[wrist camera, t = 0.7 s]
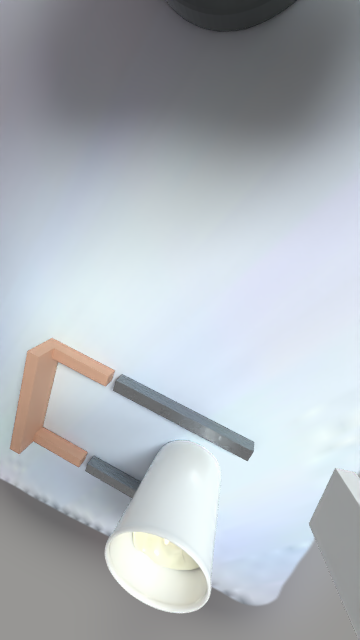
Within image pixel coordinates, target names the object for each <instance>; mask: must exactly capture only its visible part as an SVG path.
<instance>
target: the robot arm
mask: <svg viewBox="0 0 360 640" xmlns="http://www.w3.org/2000/svg"><path fill="white" fill-rule="evenodd" d="M166 1H167V3H168V4H169V5H170V6H171V7H172V8H173V9H174V10H175V11H176V12H177V13H178V14H179V15H180V16H182V17H183V18H184V19H186V20H187V21H189V22H191V23H193V24H195V25H197V26H199V27H202V28H205V29H209V30H215V31H234V30H240V29H245V28H249V27H252V26H255V25H257V24H260V23H262V22H264V21H266V20H268V19H270V18H272V17H274V16H275V15H277V14H279V13H280V12H281V11H283V10H284V9H286V8H287V7H288V6H290V5H291V4H292V3H294V2H295V1H296V0H166ZM309 526H310V528H311V530H312V533H313V535H314V537H315V540H316V542H317V544H318V547H319V549H320V551H321V554H322V556H323V558H324V561H325V563H326V565H327V568H328V570H329V573H330V575H331V577H332V580H333V582H334V584H335V587H336V589H337V591H338V594H339V596H340V598H341V600H342V603H343V605H344V607H345V610H346V612H347V615H348V617H349V619H350V622H351V624H352V627H353V629H354V631H355V633H356V636H357V638H358V640H360V478H359V477H358V476H357V474H356V473H355V472H352V471H347V470H343V469H338V468H335V470H334V472H333V474H332V476H331V478H330V480H329V482H328V484H327V486H326V489H325V491H324V493H323V495H322V497H321V499H320V501H319V503H318V505H317V507H316V510H315V512H314V514H313V516H312V518H311V520H310V522H309Z"/></svg>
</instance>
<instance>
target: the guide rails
mask: <svg viewBox="0 0 360 640" xmlns="http://www.w3.org/2000/svg"><path fill="white" fill-rule="evenodd" d="M113 391H115V392H117V393H119V394H121V395H123V396H125V397H126V398H128V399H130V400H132V401H134V402H136V403H138V404H140V405H142V406H144V407H145V408H147V409H149V410H151V411H153V412H155V413H157V414H159V415H161V416H163V417H165V418H166V419H168V420H170V421H172V422H174V423H176V424H178V425H180V426H182V427H184V428H185V429H187V430H189V431H191V432H193V433H195V434H197V435H199V436H201V437H203V438H205V439H206V440H208V441H210V442H212V443H214V444H216V445H218V446H220V447H222V448H224V449H225V450H227V451H229V452H231V453H233V454H235V455H237V456H239V457H241V458H243V459H244V460H246V461H248V460H249V458H250V457H251V455H252V454H253V452H254V442H253V441H251V440H249V439H247V438H245V437H243V436H241V435H239V434H237V433H235V432H233V431H231V430H230V429H228V428H226V427H224V426H222V425H220V424H218V423H216V422H214V421H212V420H210V419H208V418H206V417H204V416H202V415H200V414H198V413H197V412H195V411H193V410H191V409H189V408H187V407H185V406H183V405H181V404H179V403H177V402H175V401H173V400H171V399H169V398H167V397H165V396H163V395H162V394H160V393H158V392H156V391H154V390H152V389H150V388H148V387H146V386H144V385H142V384H140V383H138V382H136V381H134V380H132V379H130V378H129V377H127V376H125V375H123V374H122V375H121V376H120V377H119V378H118V379H117V380H116V383H115V386H114V389H113ZM85 471H86V472H88V473H89V474H91V475H93V476H95V477H96V478H98V479H100V480H102V481H103V482H105V483H107V484H109V485H110V486H112V487H114V488H116V489H117V490H119V491H121V492H123V493H124V494H126V495H128V496H130V497H131V498H133V496H134V494H135V492H136V490H137V489H138V487H139V485H140V483H141V482H140V481H138V480H136V479H134V478H133V477H131V476H129V475H127V474H126V473H124V472H122V471H120V470H118V469H117V468H115V467H113V466H111V465H110V464H108V463H106V462H104V461H102V460H101V459H99V458H97V457H95V456H93V457H92V459H91V460H90V461H89V463H88V464H87V467H86V470H85Z"/></svg>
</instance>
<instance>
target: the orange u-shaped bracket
mask: <svg viewBox="0 0 360 640" xmlns="http://www.w3.org/2000/svg"><path fill="white" fill-rule="evenodd" d="M58 362H60V363H62V364H64V365H66V366H67V367H69V368H71V369H73V370H75V371H77V372H79V373H81V374H83V375H85V376H86V377H88V378H90V379H92V380H94V381H96V382H98V383H100V384H102V385H104V386H106V385H107V384H108V383H109V382H110V381H111V380H112V378H113V375H114V372H115V370H113V369H111V368H109V367H107V366H105V365H103V364H101V363H99V362H97V361H95V360H94V359H92V358H90V357H88V356H86V355H84V354H82V353H80V352H78V351H76V350H74V349H72V348H70V347H68V346H66V345H64V344H62V343H61V342H59V341H57V340H55V339H53V338H51V339H49V340H48V341H46V342H44V343H42V344H40V345H38V346H36V347H34V348H32V349H30V350H29V351H27V357H26V362H25V368H24V374H23V379H22V385H21V390H20V396H19V401H18V407H17V413H16V418H15V424H14V429H13V435H12V440H11V446H10V449H11V450H13V451H15V452H16V453H18V454H20V453H21V452H22V451H23V450H25V449H26V448H27V447H28V446H29V445H30V444H31V443H32V442H33V441H34V442H35V443H37V444H39V445H41V446H42V447H44V448H46V449H48V450H49V451H51V452H53V453H55V454H56V455H58V456H60V457H62V458H63V459H65V460H67V461H69V462H70V463H72V464H74V465H76V466H77V467H80V465H81V464H82V463H83V462H84V460H85V458H86V455H87V451H85V450H83V449H81V448H79V447H78V446H76V445H74V444H72V443H71V442H69V441H67V440H65V439H63V438H62V437H60V436H58V435H56V434H55V433H53V432H51V431H49V430H47V429H46V428H44V427H43V423H44V419H45V415H46V411H47V406H48V402H49V398H50V393H51V389H52V385H53V381H54V376H55V372H56V368H57V364H58Z"/></svg>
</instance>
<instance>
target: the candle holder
mask: <svg viewBox="0 0 360 640" xmlns="http://www.w3.org/2000/svg"><path fill="white" fill-rule="evenodd" d="M220 484H221V470H220V466H219V464H218V462H217V460H216V458H215V457H214V456H213V455H212V454H211V453H210V452H209V451H208V450H207V449H206V448H204V447H203V446H201V445H199V444H197V443H194V442H191V441H186V440H176V441H172V442H169V443H167V444H166V445H164V446H163V447H162V448H161V449H160V450H159V452H158V454H157V455H156V457H155V459H154V460H153V462H152V464H151V466H150V467H149V469H148V471H147V473H146V474H145V476H144V478H143V480H142V482H141V483H140V485H139V487H138V489H137V490H136V492H135V494H134V496H133V498H132V499H131V501H130V503H129V505H128V507H127V508H126V510H125V512H124V514H123V515H122V517H121V519H120V521H119V523H118V524H117V526H116V528H115V530H114V531H113V533H112V534H111V536H110V537H109V539H108V541H107V543H106V546H105V560H106V563H107V566H108V568H109V570H110V572H111V574H112V575H113V577H114V578H115V579H116V581H117V582H118V583H119V584H120V585H121V586H122V587H123V588H124V589H125V590H126V591H127V592H128V593H130V594H131V595H132V596H134V597H135V598H137V599H138V600H140V601H141V602H144V603H145V604H147V605H149V606H152V607H154V608H156V609H160V610H163V611H167V612H172V613H188V612H193V611H196V610H198V609H199V608H201V607H202V606H204V605H205V603H206V602H207V600H208V599H209V597H210V593H211V577H212V566H213V556H214V546H215V536H216V526H217V516H218V506H219V496H220Z"/></svg>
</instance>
